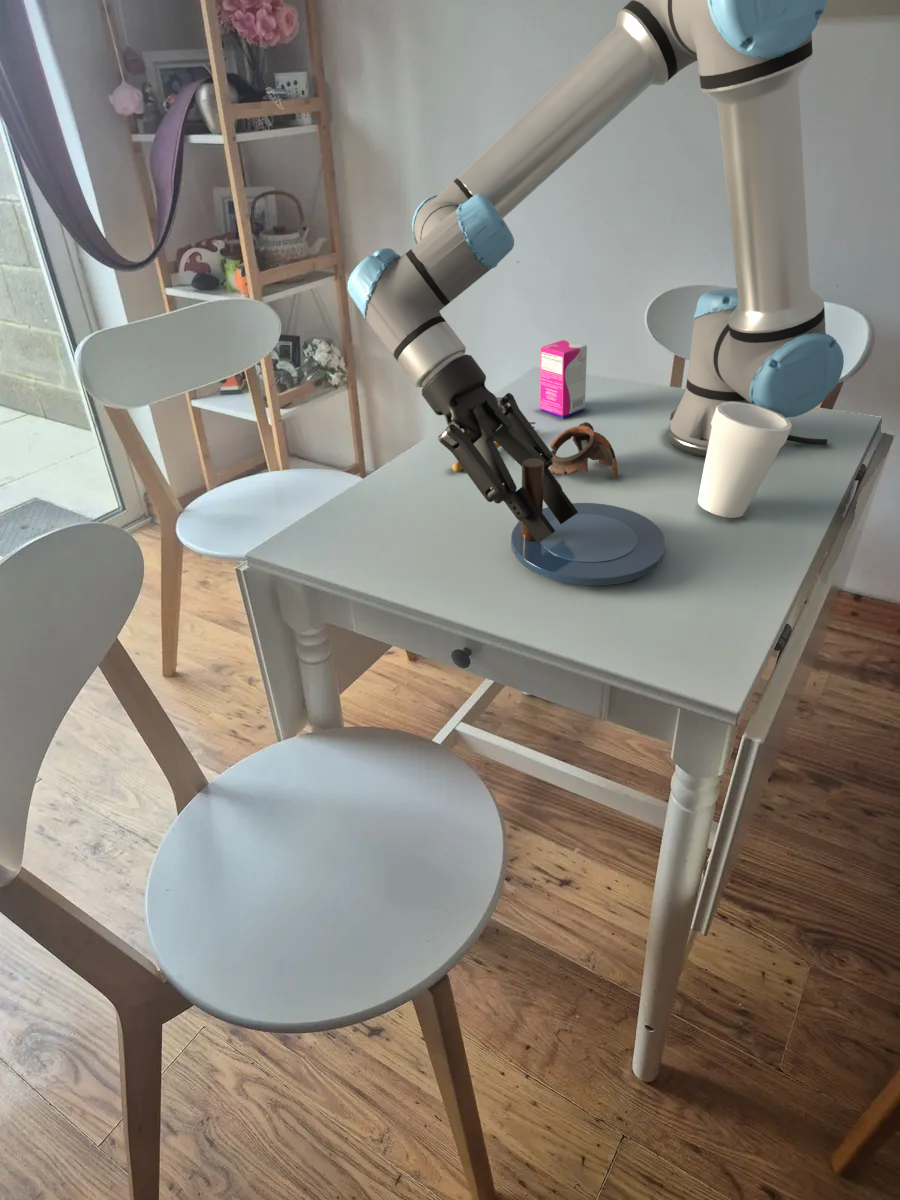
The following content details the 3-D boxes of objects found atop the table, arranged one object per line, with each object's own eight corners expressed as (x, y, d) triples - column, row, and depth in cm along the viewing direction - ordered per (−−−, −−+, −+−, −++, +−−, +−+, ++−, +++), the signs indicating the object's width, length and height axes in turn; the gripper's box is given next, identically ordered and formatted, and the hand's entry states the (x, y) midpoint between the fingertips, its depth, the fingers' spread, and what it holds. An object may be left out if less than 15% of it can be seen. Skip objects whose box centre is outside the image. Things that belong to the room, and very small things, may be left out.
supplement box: (561, 402, 147) (563, 338, 140) (585, 411, 143) (589, 345, 136) (538, 410, 144) (539, 345, 137) (562, 419, 140) (565, 353, 133)
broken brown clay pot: (625, 490, 118) (603, 449, 112) (565, 512, 122) (541, 474, 116) (619, 438, 126) (598, 398, 120) (562, 460, 129) (540, 423, 124)
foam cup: (672, 498, 110) (702, 407, 103) (709, 485, 116) (740, 397, 109) (732, 530, 105) (768, 436, 98) (768, 514, 111) (805, 424, 103)
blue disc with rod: (656, 510, 108) (666, 432, 102) (674, 587, 93) (686, 501, 87) (514, 508, 110) (514, 431, 104) (507, 583, 95) (508, 498, 89)
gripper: (468, 369, 107) (573, 512, 107) (380, 412, 95) (499, 572, 96) (502, 333, 101) (613, 485, 102) (413, 374, 89) (539, 545, 90)
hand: (558, 527), depth 99 cm, fingers open, 5 cm apart
